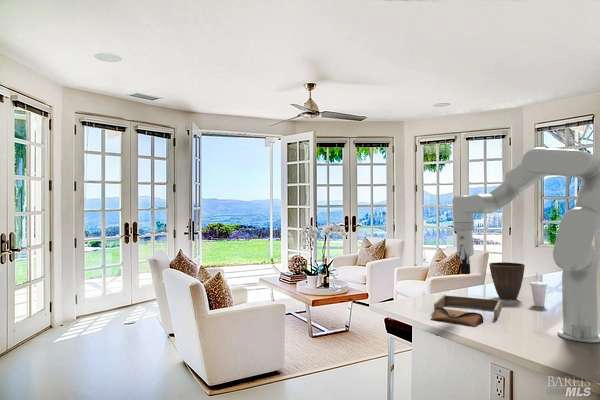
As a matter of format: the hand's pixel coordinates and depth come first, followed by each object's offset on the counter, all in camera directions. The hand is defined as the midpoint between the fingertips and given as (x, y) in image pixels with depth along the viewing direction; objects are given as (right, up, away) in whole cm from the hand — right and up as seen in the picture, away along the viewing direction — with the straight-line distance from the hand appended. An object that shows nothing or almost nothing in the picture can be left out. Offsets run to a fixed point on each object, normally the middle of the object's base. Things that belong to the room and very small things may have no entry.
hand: (465, 273), depth 166 cm
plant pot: (+32, -17, +32) cm, 48 cm away
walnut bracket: (+4, -17, +7) cm, 18 cm away
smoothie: (+38, -17, +17) cm, 45 cm away
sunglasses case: (-6, -17, -7) cm, 20 cm away
